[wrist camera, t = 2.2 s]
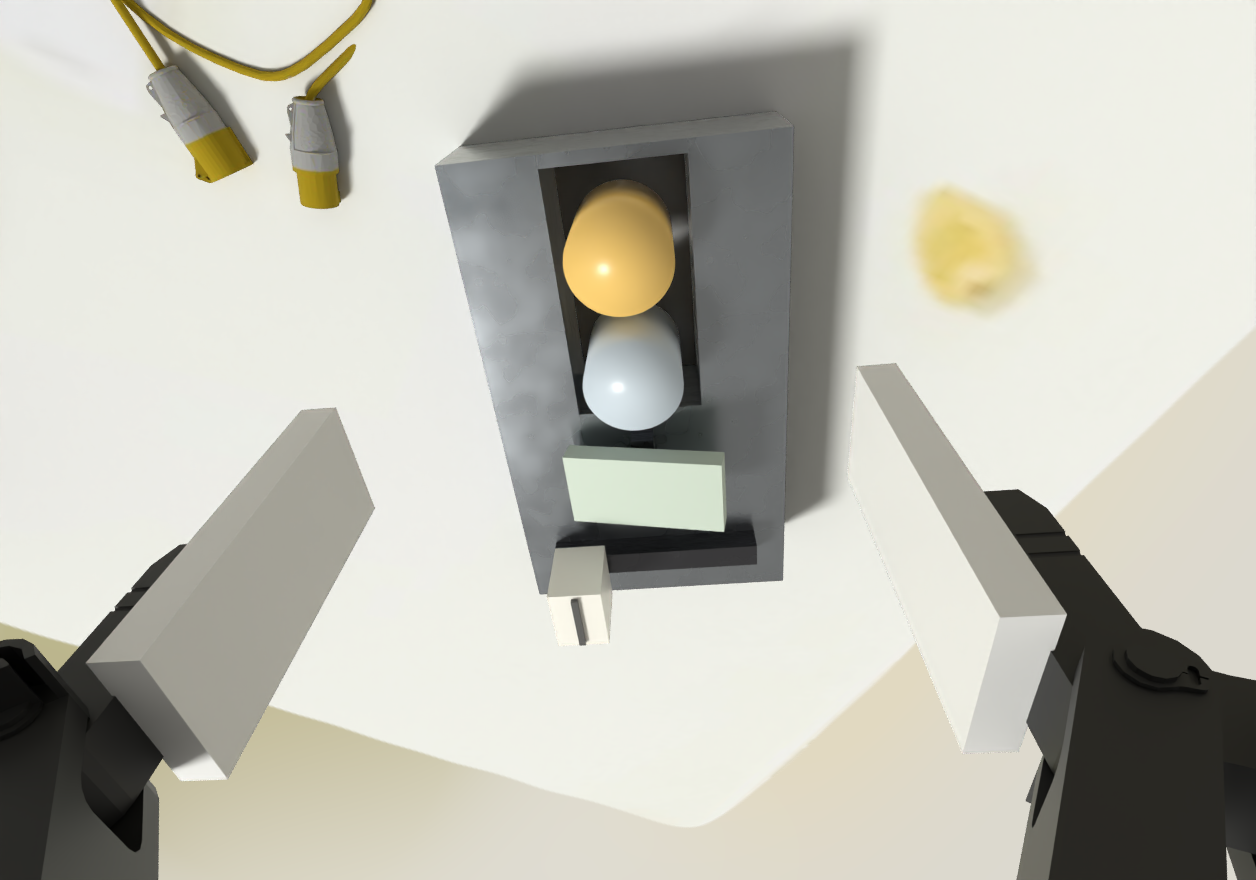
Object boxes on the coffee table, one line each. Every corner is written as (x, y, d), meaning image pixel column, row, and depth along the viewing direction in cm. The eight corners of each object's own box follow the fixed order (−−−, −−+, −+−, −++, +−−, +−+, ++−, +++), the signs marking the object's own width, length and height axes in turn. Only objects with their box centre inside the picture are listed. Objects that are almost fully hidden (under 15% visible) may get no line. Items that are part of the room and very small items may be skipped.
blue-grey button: (584, 304, 29) (575, 345, 26) (676, 296, 29) (680, 336, 26) (596, 385, 32) (589, 433, 28) (682, 378, 31) (686, 426, 28)
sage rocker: (569, 445, 31) (562, 457, 30) (724, 452, 29) (721, 465, 28) (580, 507, 33) (574, 520, 32) (726, 517, 31) (724, 531, 30)
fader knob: (555, 548, 33) (546, 600, 30) (604, 545, 32) (600, 597, 30) (565, 595, 34) (558, 649, 32) (612, 593, 34) (608, 646, 31)
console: (459, 146, 28) (425, 172, 24) (776, 111, 27) (800, 131, 23) (548, 544, 40) (536, 611, 36) (771, 530, 39) (786, 597, 35)
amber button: (566, 185, 27) (554, 212, 23) (668, 174, 26) (671, 200, 23) (581, 282, 29) (571, 321, 25) (674, 273, 29) (678, 311, 25)
